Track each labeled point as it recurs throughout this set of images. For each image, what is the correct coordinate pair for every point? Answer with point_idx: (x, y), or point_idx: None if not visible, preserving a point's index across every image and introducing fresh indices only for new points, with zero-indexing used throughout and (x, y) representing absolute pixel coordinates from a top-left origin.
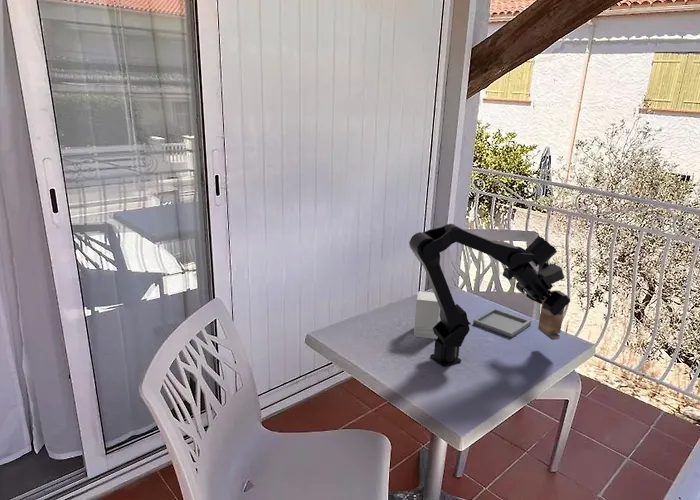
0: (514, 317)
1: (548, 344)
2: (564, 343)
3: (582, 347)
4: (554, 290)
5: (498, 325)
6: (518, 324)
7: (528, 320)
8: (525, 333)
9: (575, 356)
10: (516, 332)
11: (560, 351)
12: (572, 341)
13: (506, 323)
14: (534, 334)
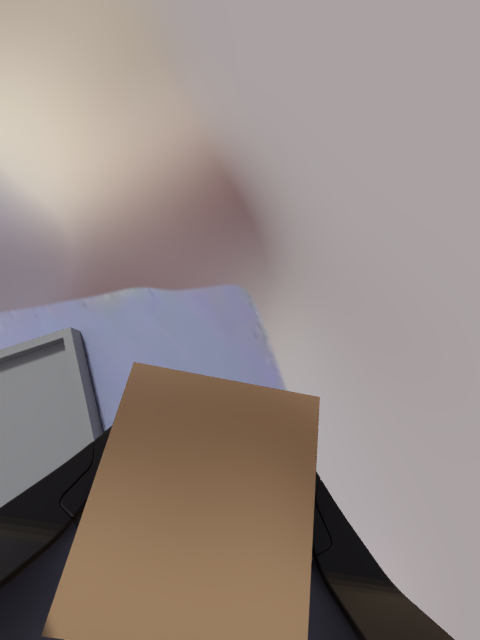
0: (13, 355)
1: (195, 373)
2: (209, 327)
3: (242, 302)
4: (121, 404)
5: (15, 452)
6: (57, 372)
7: (63, 334)
8: (111, 388)
9: (271, 354)
10: (96, 428)
11: (238, 371)
12: (209, 300)
13: (24, 409)
14: (131, 366)
